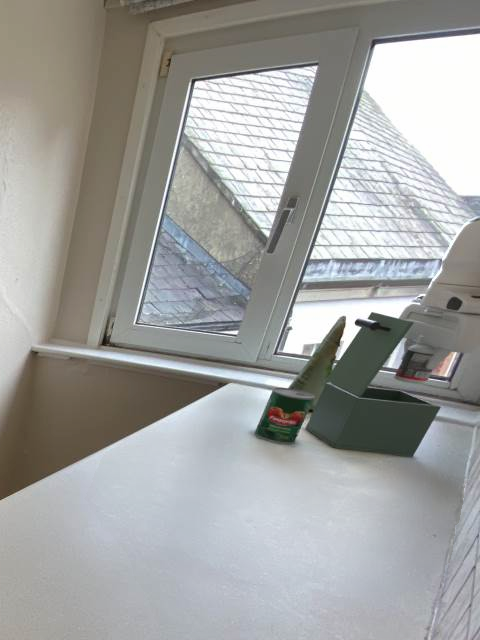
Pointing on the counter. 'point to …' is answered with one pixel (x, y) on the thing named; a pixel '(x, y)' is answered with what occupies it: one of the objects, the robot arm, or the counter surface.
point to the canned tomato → (284, 415)
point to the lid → (368, 352)
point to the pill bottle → (415, 363)
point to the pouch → (320, 363)
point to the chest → (372, 420)
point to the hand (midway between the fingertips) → (417, 364)
